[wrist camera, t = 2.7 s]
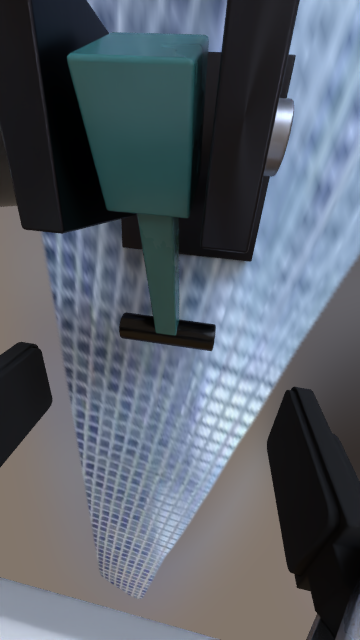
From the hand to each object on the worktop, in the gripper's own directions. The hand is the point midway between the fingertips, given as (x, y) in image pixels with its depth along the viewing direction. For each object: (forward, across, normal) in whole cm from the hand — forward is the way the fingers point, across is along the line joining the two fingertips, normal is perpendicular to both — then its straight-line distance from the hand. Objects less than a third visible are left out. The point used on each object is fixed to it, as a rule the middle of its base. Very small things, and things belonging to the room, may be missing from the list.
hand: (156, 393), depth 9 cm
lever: (+3, 0, -5) cm, 6 cm away
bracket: (+11, +1, -8) cm, 14 cm away
